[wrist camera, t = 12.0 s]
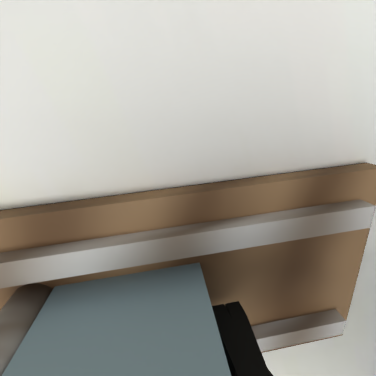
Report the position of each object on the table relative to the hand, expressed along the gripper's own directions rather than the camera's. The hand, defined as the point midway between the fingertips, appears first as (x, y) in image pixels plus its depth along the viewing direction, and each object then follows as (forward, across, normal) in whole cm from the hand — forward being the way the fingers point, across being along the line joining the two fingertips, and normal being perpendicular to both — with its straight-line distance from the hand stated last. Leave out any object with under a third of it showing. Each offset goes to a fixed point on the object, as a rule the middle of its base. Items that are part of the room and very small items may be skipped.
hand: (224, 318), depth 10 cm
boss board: (+2, +1, 0) cm, 3 cm away
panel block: (+2, +4, 0) cm, 5 cm away
